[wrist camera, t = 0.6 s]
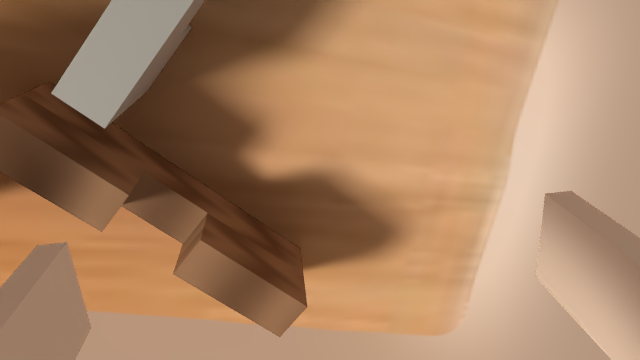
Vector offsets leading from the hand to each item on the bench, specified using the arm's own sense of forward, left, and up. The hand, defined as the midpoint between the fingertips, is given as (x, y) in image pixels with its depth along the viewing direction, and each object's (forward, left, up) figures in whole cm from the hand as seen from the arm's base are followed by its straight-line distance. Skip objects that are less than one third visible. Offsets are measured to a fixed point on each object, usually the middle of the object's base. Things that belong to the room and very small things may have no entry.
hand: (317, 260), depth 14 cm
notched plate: (-9, +2, -24) cm, 26 cm away
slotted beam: (-2, -11, -24) cm, 27 cm away
